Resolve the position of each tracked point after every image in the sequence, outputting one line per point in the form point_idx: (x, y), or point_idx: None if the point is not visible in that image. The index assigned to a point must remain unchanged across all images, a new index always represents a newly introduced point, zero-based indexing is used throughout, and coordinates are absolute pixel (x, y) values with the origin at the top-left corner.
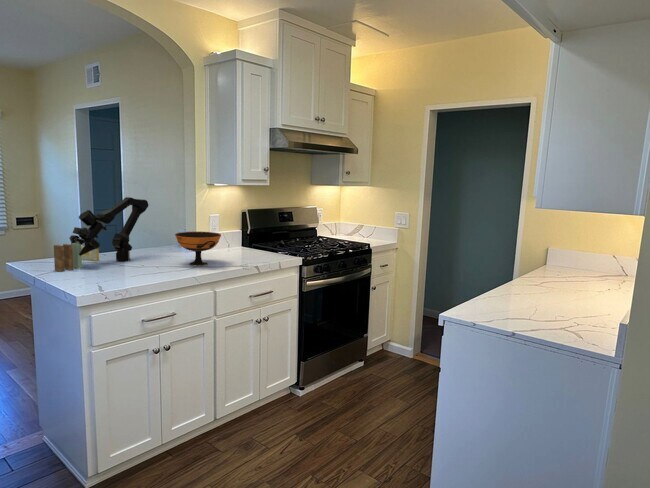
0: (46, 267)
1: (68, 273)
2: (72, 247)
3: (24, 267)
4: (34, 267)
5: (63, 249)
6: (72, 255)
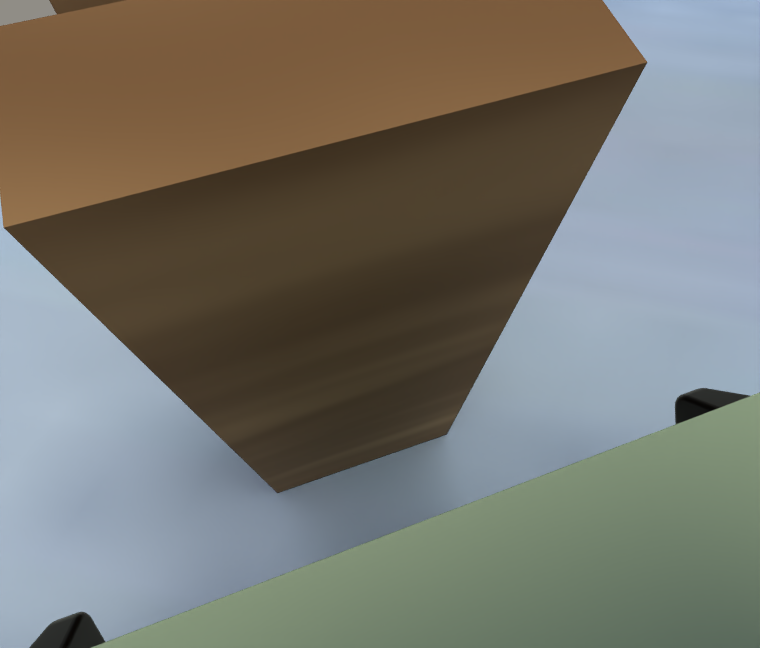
0: (644, 199)
1: (12, 352)
2: (88, 307)
3: (724, 20)
4: (691, 93)
5: (56, 9)
6: (207, 414)
